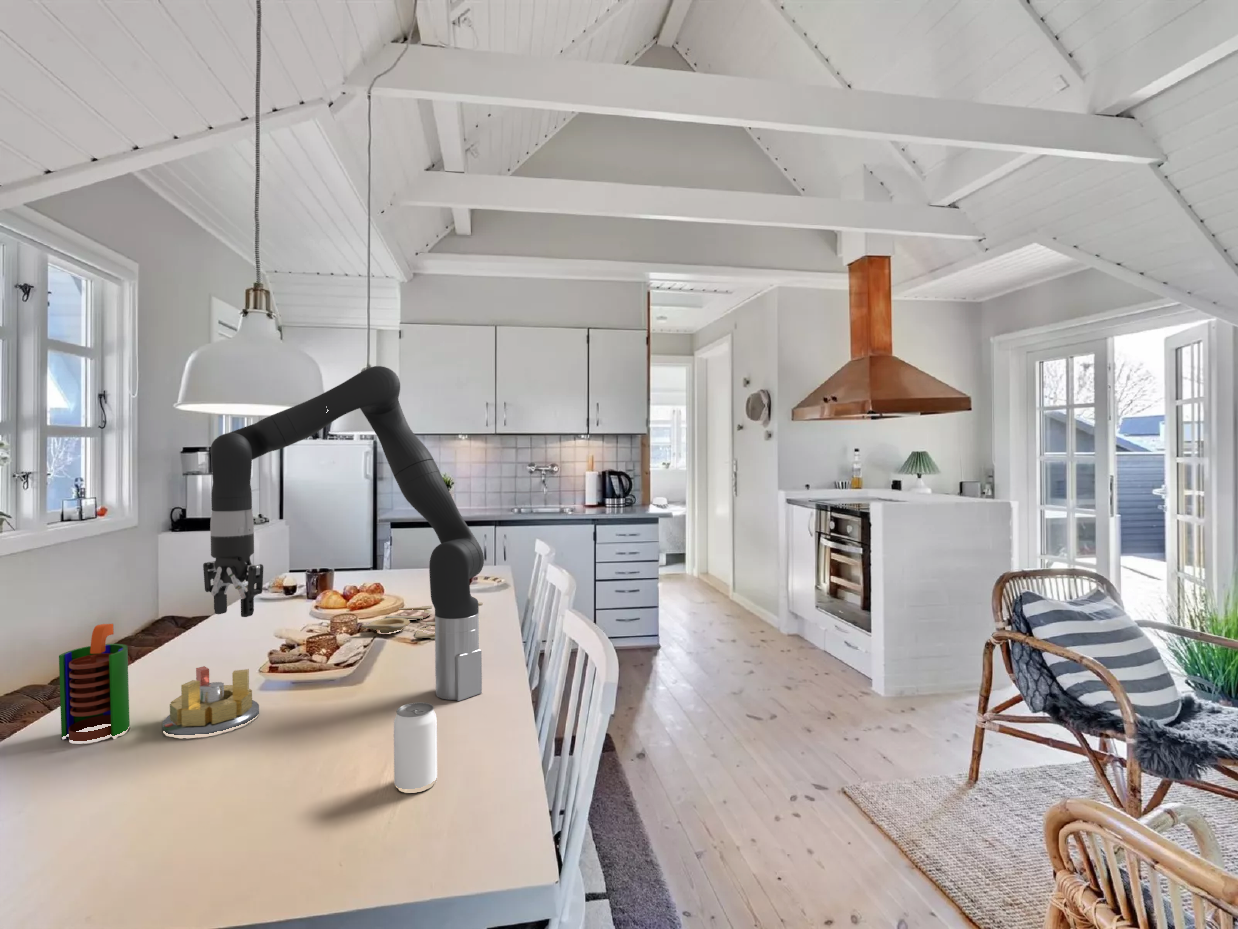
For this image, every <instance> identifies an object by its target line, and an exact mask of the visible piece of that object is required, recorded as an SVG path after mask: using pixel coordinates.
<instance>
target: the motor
mask: <svg viewBox="0 0 1238 929" xmlns="http://www.w3.org/2000/svg"><path fill="white" fill-rule="evenodd" d="M114 634H115V632H114V623H102V624H97V625H95V626H94V628H93V629H92V634H91V639H90V646H89V645H88V646H84V647H78V648H75V649H72V650H67V651H65V652H63V653H61V654H59V655H58V666H59V667H58V669H59V672H58V673H59V676H58V677H59V700H60V701H59V702H60V730H61V734H60V735H61V737H63V736H66V735H67V734H69V738H68V740H69V739H70V740H73V741H87V740H92V739H97V738H100V737H105V736H107V735H110V734H111V735H112V736H115V735H117V734H120V733H122V732H123V731H126V730H127V729H128V727H129V726H131V725H130V723H131V722H130V694H129V692H130V691H129V688H130V687H129V661H128V660H129V656H128V652H129V651H128V645H126V644H124V643H106V641H107V637H108V636H111V635H112V636H113V635H114ZM102 724H111V726H108V727H105V728H102V729H98V730H94V731H88V732H76V731H79V730H82V729H84V728H87V727H94V726H97V725H102Z"/></svg>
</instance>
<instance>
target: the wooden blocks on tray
mask: <svg viewBox="0 0 1238 929" xmlns="http://www.w3.org/2000/svg"><path fill="white" fill-rule="evenodd" d="M195 674H196V675H195V676H196V678H195V680H194V679H192V680H190V681H188V682H185V683H183V684H181V685H180V687H181V689H180V690H181V695H179V696H178V697H176V698H175V699H173V700H171V701H170V703H169V715H170V720H171V721H172V722H173V723H175V724H176V725H177V726H178V725H181V724H182V726H205V725H207V724H208V723H209V722H210V723H211V724H216V723H219V722H223V721H226V720H230V719H233V718H237V715H243V714H244V713H245V712H246V711H248V710H249V709H250V708H251V707H252V700H253V690H252V689H251V688H250V670H249V668H245V669H237V670H236V669H235V670H233V671H232V673H231V674H232V678H231V679H232V684H224V700H221V701H218V702H214V703H209V704H200V686H202V685H204V684H208V683H210V668H208V667H207V666H206V665H203V666H200V667H196V668H195Z"/></svg>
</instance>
